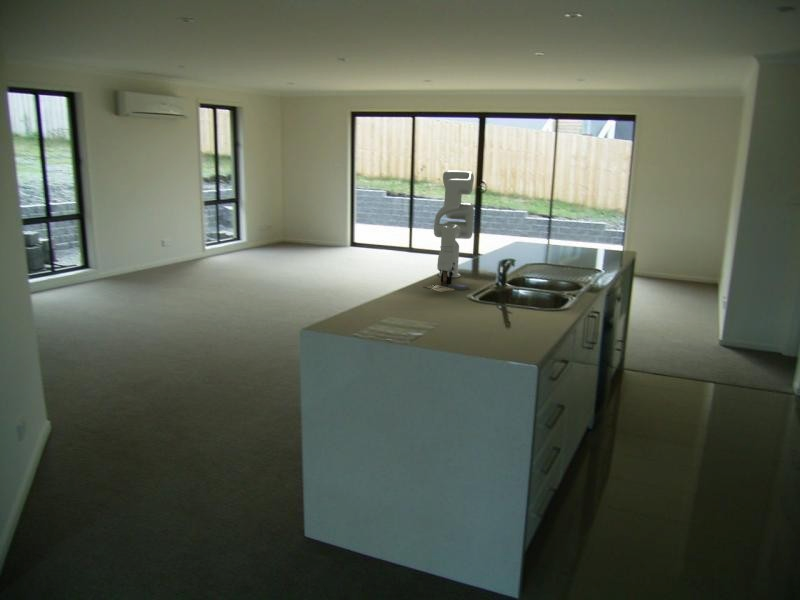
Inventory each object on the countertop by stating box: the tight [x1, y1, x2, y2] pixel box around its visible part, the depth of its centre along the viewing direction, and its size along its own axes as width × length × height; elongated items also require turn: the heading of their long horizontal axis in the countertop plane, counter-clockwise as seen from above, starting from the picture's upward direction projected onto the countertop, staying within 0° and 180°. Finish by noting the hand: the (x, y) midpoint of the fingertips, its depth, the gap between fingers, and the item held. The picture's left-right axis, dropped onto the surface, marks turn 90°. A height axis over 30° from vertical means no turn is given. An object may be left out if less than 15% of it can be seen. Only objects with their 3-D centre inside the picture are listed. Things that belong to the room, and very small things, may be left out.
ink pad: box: [447, 283, 471, 291], centre depth 334 cm, size 9×7×2 cm
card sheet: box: [431, 284, 456, 293], centre depth 331 cm, size 14×10×1 cm
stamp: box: [440, 271, 452, 287], centre depth 340 cm, size 4×4×8 cm
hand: (446, 282), depth 341 cm, fingers closed on stamp, 3 cm apart
